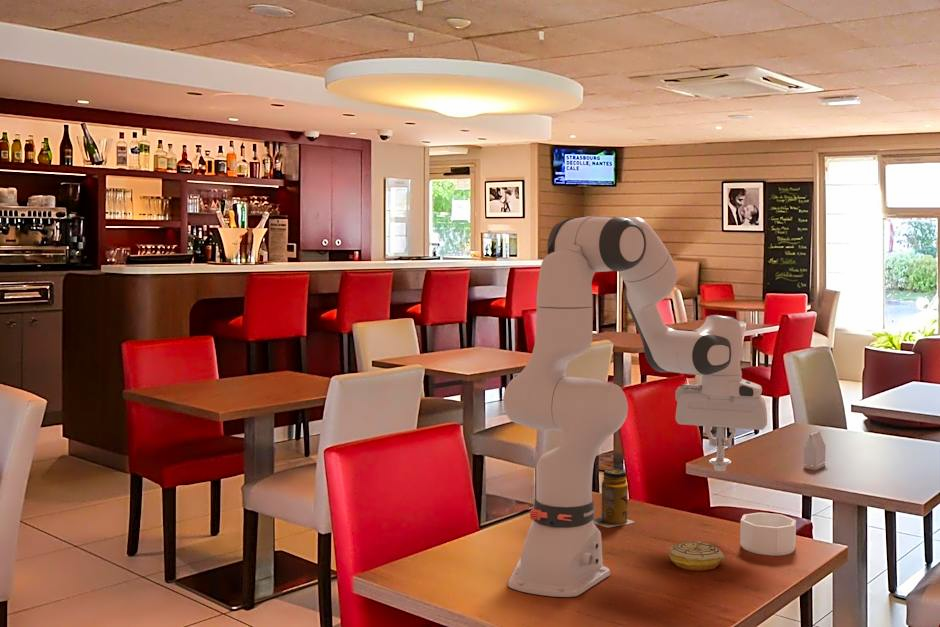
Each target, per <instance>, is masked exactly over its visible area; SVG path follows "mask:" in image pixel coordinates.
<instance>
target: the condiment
mask: <svg viewBox="0 0 940 627" xmlns="http://www.w3.org/2000/svg"><path fill="white" fill-rule="evenodd" d="M628 486H629V485H628V482H627V472H626V471H625V470H623V469H619V468H617V469H616V468H615V469H614V468H613V469H612V468H611V469H605V470H603V479H602V483H601V516H599V517H594V519H593V522H594V524H595V525H598V526H601V527H604V528H607V529H609V528H610V529H611V528H613V527H617V526H619V527H620V526H625V525H630V524H633V523H635V521H634V520H631V519H628V506H629V505H628V497H629V496H628V495H629V494H628V490H629V487H628Z"/></svg>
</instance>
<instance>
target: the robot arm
mask: <svg viewBox="0 0 940 627" xmlns="http://www.w3.org/2000/svg"><path fill="white" fill-rule="evenodd" d="M546 245H547V250H546V254H547V255H546V256H545V257H544V258H543V260H542V262H541V264H540V270H539V273H538V274H539V276H538V281H537V290H536V291H537V292H536V315H535V316H536V319H535V320H536V321H535V324H536V325H535V337H534V338H535V339H534V345H533V349H532V352H531V355H530V357H529V360H528V362H527V364H526V365H525V367H524V368H523V369H522V371H521V372H520V373H518V374H517V375H516V376H515V377H513V378H512V379H511V380H510V381H509V383H508V384H507V385H506V387H505V390H504V392H503V398H502V399H503V400H502V403H503V404H502V405H503V406H502V407H503V409H504V412H505V414H506V416H507V418H508V419H509V421H510V422H512V423H515V424H517V425H520V426H523V427H525V428H526V427H527V428H529V429H533V430H534V429H535V430H543V431H553V432H554V431H555V432H560V433H561V441H560V445H559V446H557V447H555V448H553V449H551V450H548V451H547V452H545V453H543V454H542V455H541V456H540V458H539V459H538V461H537V463H536V468H535V470H536V471H535V473H536V476H535V477H536V478H535V480H536V481H535V482H536V484H535V486H536V487H535V491H536V493H535V494H536V497H535V499H534V502H533V506H532V508H531V509H530V512H529V519H530V520H532V522H530V524H529V525H530V526H529V529H528V532H527V534H526V538H525V541H524V543H523V547H522V550H521V552H520V558H519V560H518V561H517V564H516V566H515V568H514V570H513V572H512V574H511V575H510V578H509V580H508V586H507V587H509V588H510V589H513V590H516V591H519V592H523V593H526V594H527V593H528V594H533V595H539V596H545V597H546V596H547V597H555V598H556V597H558V598H559V597H560V598H561V597H562V598H571V597H573V598H574V597H578V596H579V595H581V594H583V593H584V592H586V591H587V590H589V589H590V588H592V587H593V586H595V585H597V584H598V583H600V582H601V581H603V580H605V579H606V578H607V577H609V576H610V575H611V571H610V570H611V569H610V568H609V567H607V566H604V565H603V562H604V561H603V545H602V544H603V543H602V532H601V531H600V529H599V528H598V526H596V524H595V523H594V522H593V519H595V511H596V510H595V508H596V507H595V502H594V499H593V496H592V494H593V492H592V491H593V475H594V474H593V473H594V464H595V461H596V460H595V459H596V457H597V454H598V452H599V450H600V448H601V446H602V445H603V444H604V442H605V441H607V439H608V438H609V437H611V436H612V435H613V434H615V433H616V432H617V431H618V430H620V428H622V426H623V425H624V423H625V421H626V420H627V416H628V411H629V410H628V409H629V408H628V407H629V405H628V404H629V403H628V400H627V397H626V394H625V392H624V391H623V389H622V387H620V386H619V385H618V384H616V383H612V382H609V381H607V380H603V379H598V378H592V377H579V376H578V377H577V376H576V377H575V376H568V375H567V370H568V369H567V368H568V366H569V364H570V362H571V361H572V360H574V359H576V358H578V357H581V356H583V355H584V354H585V353H586V352H588V351H589V349H590V347H591V346H592V344H593V321H594V320H593V318H594V316H593V315H594V312H593V311H594V308H593V307H594V306H593V305H594V304H593V302H594V300H593V285H592V284H593V283H592V281H593V278H594V275H595V274H596V273H600V272H601V273H602V272H603V273H604V272H614V271H615V272H618V274H619V275H620V277H621V279H622V280H623V282H624V285H625V288H624V292H623V293H624V294H623V295H624V299H625V300H624V301H625V303H626V307H627V309H628V311H629V313H630V316H631V318H632V320H633V323H634V326H635V328H636V329H637V332H638V335H639V336H640V339H641V341H642V345H643V352H644V355H645V359H646V361H647V363H648V364H649V366H650V367H651V368H652V369H653V370H654V371H656V372H659V373H675V374H676V373H678V374H682V375H683V374H685V375H694V376H701V384H687V383H686V384H685V383H684V384H683V383H682V385H679V386H678V387H676V390H675V394H674V395H675V401H676V402H677V404H676V410H675V421H676V423H677V424H678V425H684V426H686V425H687V426H699V427H704V433H705V434H706V436H707V438H708V439H709V440H708V441H709V442H708V445H709V447H717V436H715V437H714V435H713V434H712V432H711V431H712V430H713V427H715V428H717V427H724V428H729V429H728V430H729V431H728V432H729V433H731V434H730V435H729V436H728V437H725V438H724V447H725V448H731V447H732V439H733V438H734V436H735V435H736V434H737V431H738V429H742V430H757V431H758V430H759V431H763V430H765V428H766V427H767V426H768V412H767V404H766V401H765V399H764V397H763V396H761V395H762V392H763V387H762V385H760V384H758V383H755V382H752V381H749V380H746V379H745V378H743V377H742V375H743V372H742V369H741V368H742V367H741V360H742V356H743V336H742V327H741V322H740V321H739V320H738V319H736V318H735V317H733V316H727V315H725V316H724V315H719V314H710V315H707V316H706V317H705V320H704V323H703V324H702V325H700V326H699V327H698V328H696V329H694V330H692V331H689V330H680V329H679V330H677V329H674V328H671V327H669V326H668V325H666V324H665V323H664V321H663V318H662V316H661V313H660V311H659V309H658V307H657V304H658V303H660V302H661V301H663V300H665V299H666V298H667V297H668V296H669V295H670V294H671V292H672V291H673V290H674V289H675V287H676V284H677V281H678V268H677V265H676V263H675V261H674V260H673V257H672V256H671V254H670V252H669V250H668V248H667V247H666V246H665V244H664V243H663V241H662V240H661V238H660V237H659V235H658V234H657V233H656V232H655V230H654V229H653V228H652V226H650V225H649V223H648V222H647V221H646V220H645V219H642V218H641V217H637V216H628V217H620V216H616V217H608V216H598V215H589V216H582V217H577V218H576V217H569V218H566V219H563V220H561V221H559V222H558V223H556V224H555V225H554V226H553V227H552V229H551V231H550V232H549V236H548V239H547V244H546Z"/></svg>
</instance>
